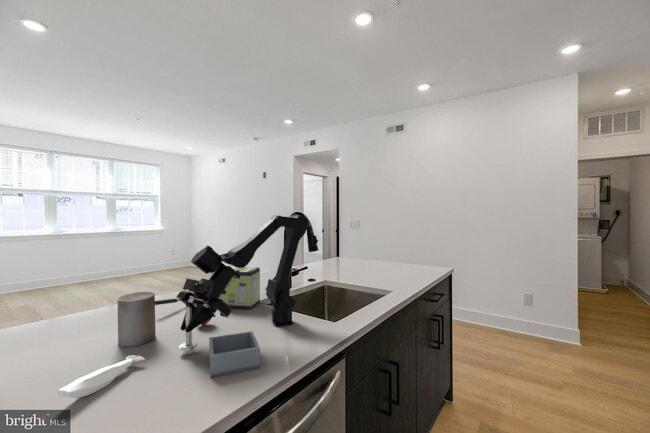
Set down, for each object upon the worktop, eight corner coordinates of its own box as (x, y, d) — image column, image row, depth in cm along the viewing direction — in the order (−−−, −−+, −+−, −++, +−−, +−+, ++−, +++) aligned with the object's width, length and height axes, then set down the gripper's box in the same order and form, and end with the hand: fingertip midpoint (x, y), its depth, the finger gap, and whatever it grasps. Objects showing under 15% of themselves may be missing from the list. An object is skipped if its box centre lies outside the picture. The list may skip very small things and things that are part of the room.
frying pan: (175, 320, 106) (175, 302, 106) (146, 317, 109) (146, 300, 109) (225, 296, 137) (225, 282, 137) (201, 294, 140) (201, 281, 140)
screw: (196, 355, 79) (177, 357, 77) (199, 347, 83) (181, 349, 82) (196, 308, 79) (177, 309, 77) (199, 303, 83) (181, 304, 82)
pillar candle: (150, 331, 95) (150, 286, 95) (159, 340, 88) (158, 291, 88) (114, 340, 88) (114, 291, 88) (121, 351, 81) (120, 298, 81)
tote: (252, 348, 83) (252, 330, 83) (259, 367, 72) (259, 348, 72) (209, 355, 79) (209, 337, 79) (210, 377, 68) (210, 356, 68)
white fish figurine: (50, 407, 57) (50, 387, 57) (127, 364, 75) (127, 349, 75) (73, 411, 56) (73, 390, 56) (145, 366, 74) (146, 350, 74)
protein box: (227, 300, 130) (227, 266, 130) (260, 302, 127) (260, 267, 127) (215, 308, 119) (215, 270, 119) (251, 310, 117) (251, 271, 117)
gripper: (182, 264, 89) (144, 310, 79) (222, 270, 79) (184, 323, 69) (205, 284, 95) (172, 329, 86) (244, 292, 85) (212, 343, 76)
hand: (184, 330), depth 79 cm, fingers closed on screw, 2 cm apart
